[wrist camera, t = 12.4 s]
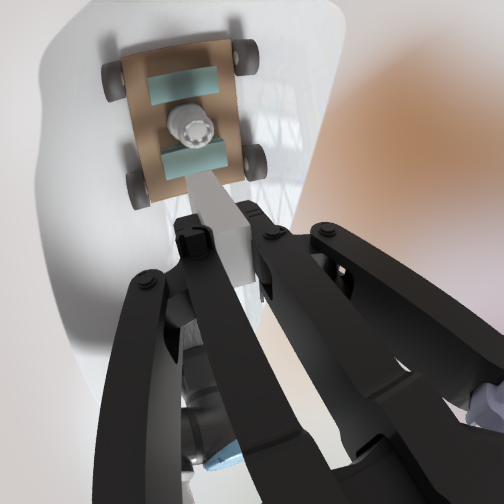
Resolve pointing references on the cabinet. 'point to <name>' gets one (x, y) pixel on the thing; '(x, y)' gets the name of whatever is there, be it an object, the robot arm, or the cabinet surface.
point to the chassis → (175, 93)
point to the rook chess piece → (190, 125)
